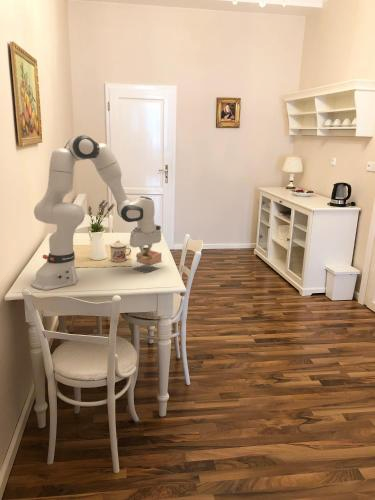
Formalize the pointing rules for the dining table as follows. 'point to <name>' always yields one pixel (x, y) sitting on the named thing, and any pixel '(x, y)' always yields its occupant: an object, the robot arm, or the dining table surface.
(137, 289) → the dining table surface
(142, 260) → the pink hollow square box
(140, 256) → the lid
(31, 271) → the dining table surface
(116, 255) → the teacup with lid
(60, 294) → the dining table surface
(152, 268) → the mat
